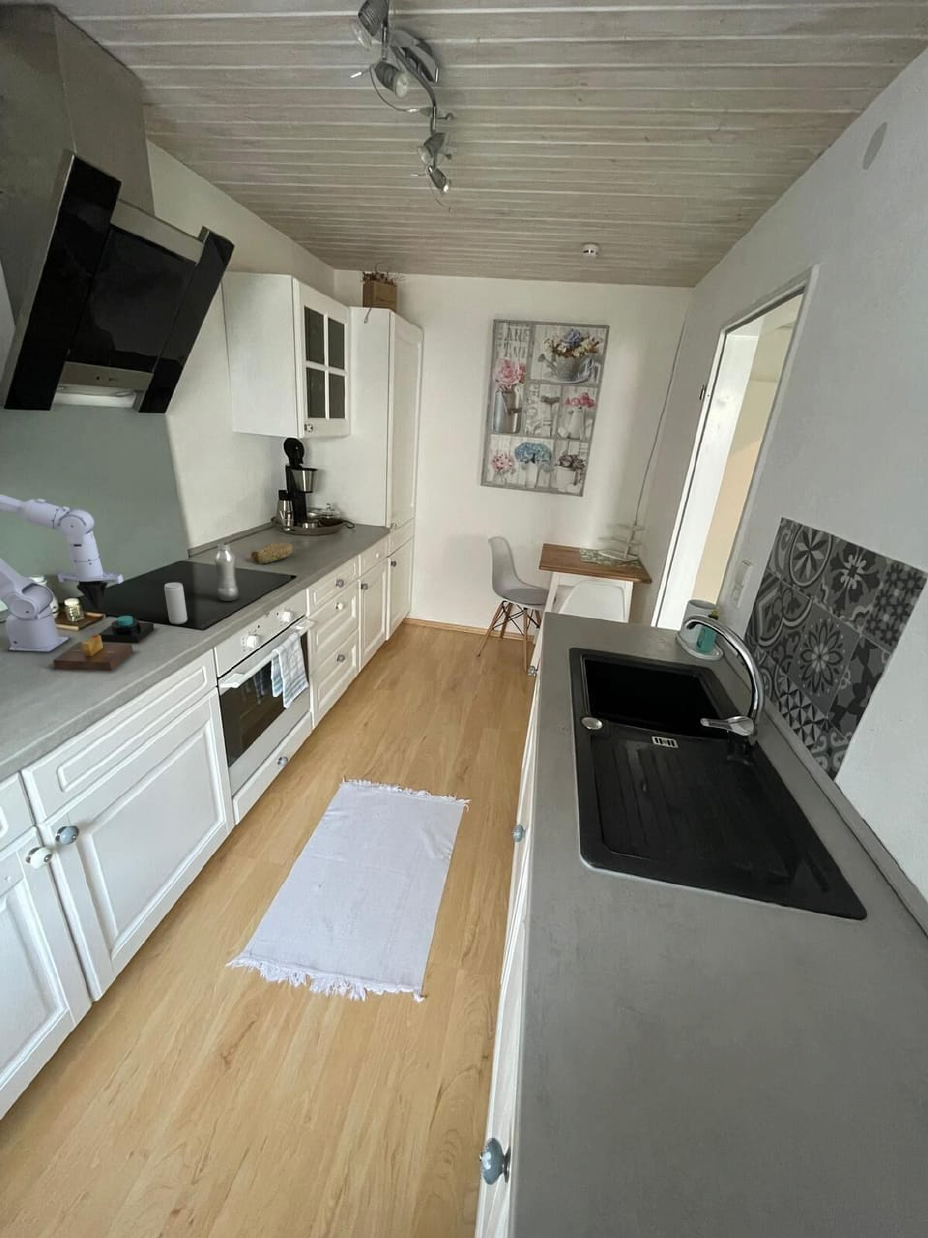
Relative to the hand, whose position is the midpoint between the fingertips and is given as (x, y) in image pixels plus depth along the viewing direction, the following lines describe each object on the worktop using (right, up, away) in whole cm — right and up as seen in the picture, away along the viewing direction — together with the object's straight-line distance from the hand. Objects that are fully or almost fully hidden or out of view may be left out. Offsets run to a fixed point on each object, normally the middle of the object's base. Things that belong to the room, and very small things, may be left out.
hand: (98, 607), depth 130 cm
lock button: (+2, -5, +7) cm, 9 cm away
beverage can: (+10, -4, +20) cm, 23 cm away
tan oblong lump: (+14, +23, +85) cm, 89 cm away
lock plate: (+3, -14, -5) cm, 15 cm away
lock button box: (+2, -8, +9) cm, 12 cm away
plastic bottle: (+16, +3, +39) cm, 42 cm away
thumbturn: (+3, -12, -6) cm, 13 cm away
